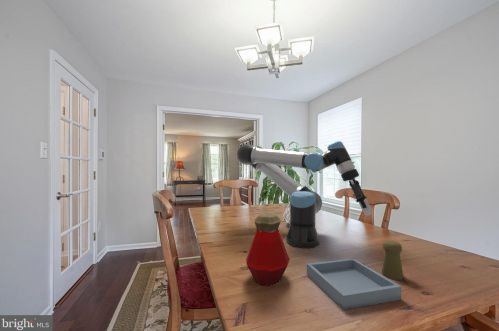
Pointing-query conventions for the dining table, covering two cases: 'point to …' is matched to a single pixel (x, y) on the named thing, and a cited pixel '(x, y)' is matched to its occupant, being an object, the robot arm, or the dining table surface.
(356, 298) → the tray
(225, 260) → the dining table surface
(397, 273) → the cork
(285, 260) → the bottle
